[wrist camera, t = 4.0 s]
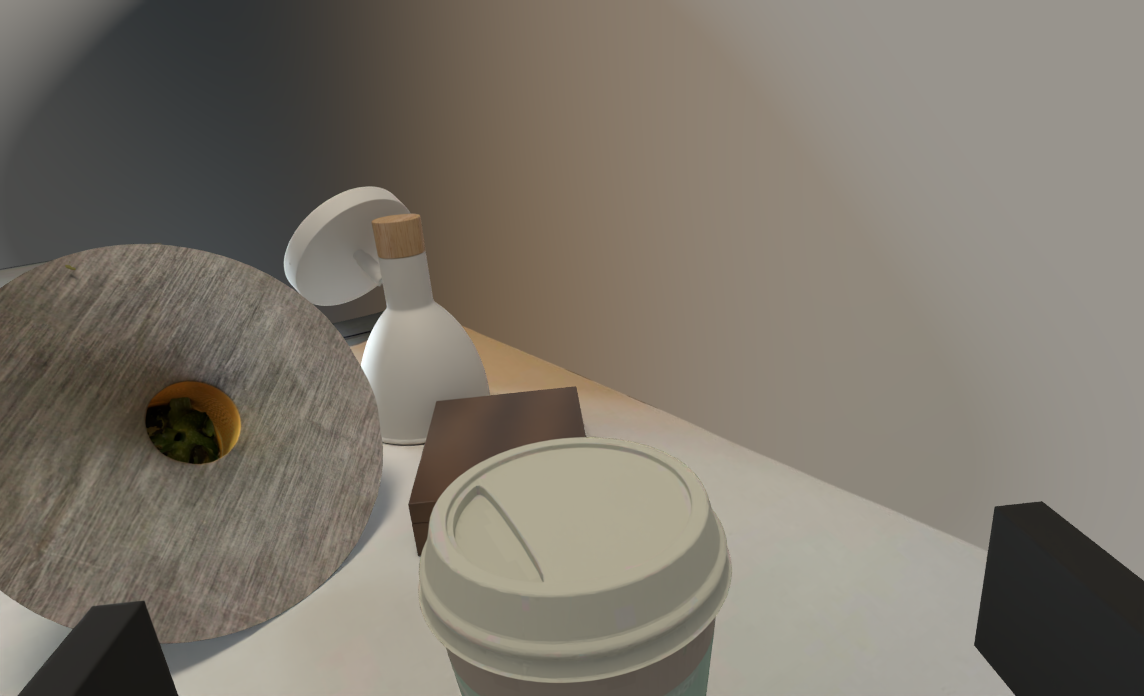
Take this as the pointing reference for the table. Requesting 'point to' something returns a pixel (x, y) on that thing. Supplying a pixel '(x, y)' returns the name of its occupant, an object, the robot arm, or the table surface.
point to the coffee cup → (576, 572)
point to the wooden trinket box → (485, 439)
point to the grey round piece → (176, 440)
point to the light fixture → (411, 320)
